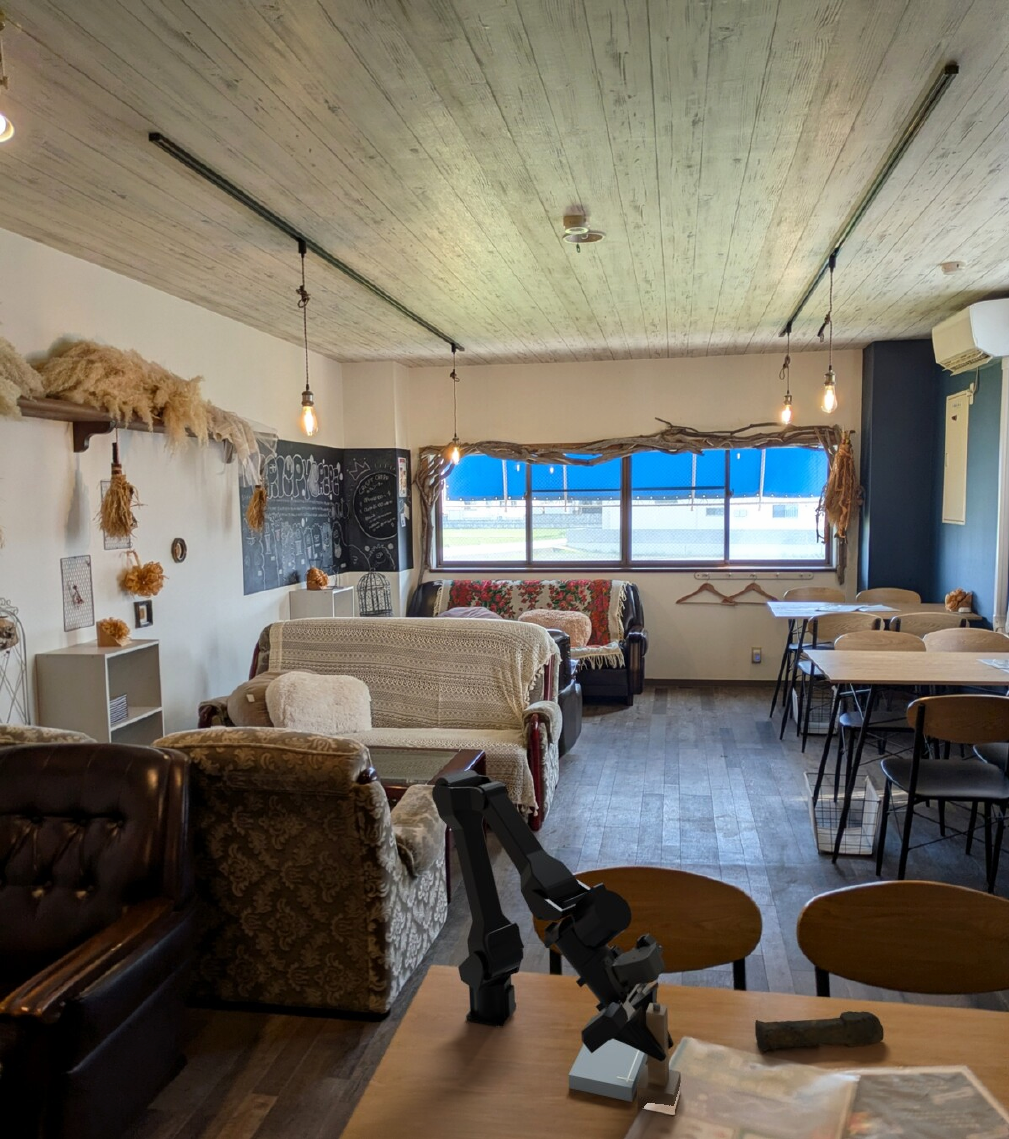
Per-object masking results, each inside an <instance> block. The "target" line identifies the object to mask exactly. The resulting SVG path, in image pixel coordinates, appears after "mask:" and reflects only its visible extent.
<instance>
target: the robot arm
mask: <svg viewBox="0 0 1009 1139" xmlns="http://www.w3.org/2000/svg"><path fill="white" fill-rule="evenodd" d="M431 796H432V800H433V802H434V804H435V808H436V810H437V813H438V816H439V818H440V819H441V820H442V822H444V824H445V825H446V826H448V827H449V829H450V830H451V832H452V835H453V840H454V844H455V848H456V852H457V857H458V861H459V862H458V863H459V865H460V869H461V875H462V879H463V884H464V887H465V888H464V889H465V894H466V896H467V902H468V906H469V911H470V915H471V919H472V920H471V921H472V922H471V925H470V929H469V933H468V936H467V939H466V940H467V949H468V956H467V957H466V959H465V960H463V961H462V963H460V965H459V966H458V973H459V977H460V981H461V982H463V983H464V984H466V985H467V986H468V992H469V1011H468V1013H466V1016H465V1020H466V1019H467V1020H466V1021H468V1020H469V1021H470V1022H474V1023H479V1024H483V1025H491V1026H495V1027H499V1028H500V1027H501V1028H502V1027H504V1025H505V1024H506V1022H507V1021H508V1020H509V1018H511V1016H512V1014H513V1013H514V1011H515V1009H516V1008H517V1002H516V995H515V985H514V984H512V975H515V974H518V973H519V972H520V968H521V963H522V960H523V959H524V948H525V945H524V942H523V941H522V938H521V931H520V926H519V924H518V923H517V922H511V920H510V919H509V918H508V917H507V916H506V915H505V914H504V913H503V909H502V906H501V900H500V898H499V897H500V896H499V892H498V888H497V884H496V880H495V875H494V872H493V866H492V861H491V858H490V852H489V849H488V845H487V841H486V836H485V832H484V828H483V820H484V819H485V821H486V823H487V824H488V826H489V827H490V829H491V831H492V832H493V834H494V835H495V837H496V838H497V840H498V842H499V843H500V845H501V846H502V848H503V850H504V851H505V852H506V854H507V856H508V857H509V859H510V860H511V862H512V863H513V865H514V867H515V868H516V870H517V872H518V874H519V876H520V880H519V881H520V883H519V884H520V892H521V894H522V897H523V898H524V900H525V903H526V905H527V907H528V910H529V911H530V912H531V914H532V916H533V917H535V918H536V919H537V920H538V921H540V920H541V921H543V922H550V921H551V922H550V923H549V924H548V925H547V926H545V928H544V942H543V943H544V947H545V948H546V949H549V948H550V947H552V946H553V945H555V947H556V948H557V949H558V951H559V952H560V953H561V954H562V956H563V957H564V959H565V960H566V961H567V962H568V963H569V965H570V966H571V967H572V968H573V970H574V971H575V973H577V975H578V976H579V978H577V980H575V982H576V984H577V985H578V987H579V988H582V987H583V986H585V985H586V986H587V988H588V989H589V990H590V992H591V993H592V994H593V996H595V998H596V999H597V1000H598V1001H599V1002H598V1003H596V1005H595V1008H596V1009H597V1011H598V1013H597V1014H595V1015H594V1016H593V1017H591V1018H590V1020H589V1021H588V1022H587V1023H586V1025H585V1027H584V1028H583V1029H582V1030H581V1043H583V1044H584V1045H585V1046H586V1047H587V1049H588V1050H589V1051H590V1052H591V1053H593V1052H594V1051H596V1050H597V1049H598V1048H600V1047H601V1046H602V1045H603V1044H605V1043H606V1042H607V1041H610V1040H611V1039H615V1040H617V1041H619V1042H622V1043H624V1044H627V1045H629V1046H631V1047H633V1048H635V1049H637V1050H639V1051H641V1052H643V1053H645V1054H647V1055H649V1056H651V1057H653V1058H655V1059H657V1060H659V1061H663V1060H665V1059H666V1057H667V1056H666V1054H665V1052H664V1051H663V1049H662V1047H661V1046H660V1044H659V1043H658V1042H657V1040H656V1039H655V1037H654V1036H653V1034H652V1033H651V1032H650V1030H649V1029H648V1027H647V1026H646V1011H647V1009H648V1006H649V1004H650V1003H658V1000H657V999H658V989H659V986H660V984H659V982H656V983H654V982H655V981H657V980H658V978H660V975H661V974H662V973H663V971H664V970H665V969H666V967H667V964H666V962H665V961H664V960H663V958H662V954H663V952H664V947H663V946H661V945H660V944H659V943H658V941H657V940H656V939H655V938H654V937H653V936H652V935H651V934H650V933H646V934H642V935H640V936H639V937H638V939H637V940H636V941H635V943H636V944H635V946H636V947H632V948H631V949H630V950H628V951H626V952H624V950H622V948H621V947H620V946H618V945H616V944H613V945H612V947H610V946H609V945H608V944H609V943H610V942H612V941H613V940H614V939H615V938H616V937H619V935H620V934H621V933H623V932H624V931H626V930H627V929H628V928H629V927H630V925H631V922H632V917H633V916H632V910H631V907H630V905H629V903H628V901H627V900H626V899H624V898H623V897H622V896H621V895H620V894H619V893H618V892H615V891H613V890H610V889H609V890H608V889H607V887H606V885H605V884H604V883H603V882H600V883H599V884H596V885H593V886H592V887H590V886H588V885H586V884H585V883H583V882H581V881H580V880H578V879H577V877H576V876H575V875H574V874H573V872H571V870H570V869H569V868H568V867H567V866H566V865H565V863H564V862H562V861H561V860H559V859H557V858H555V857H553V856H551V855H550V854H549V853H547V851H546V849H544V847H543V846H542V845H541V843H540V841H539V840H538V839H537V837H536V835H535V834H534V831H532V829H531V828H530V826H529V824H528V823H527V821H526V820H525V819H524V817H523V815H522V814H521V813H520V811H519V810H518V808H517V806H516V805H515V803H514V802H513V800H512V799H511V797H510V796H509V791H508V788H507V786H506V784H505V783H503V782H502V781H498V780H494V779H493V778H492V776H489V775H488V776H487V775H482V774H478V773H477V772H476V771H475V770H473V769H466V770H463V771H459V772H455V773H452V774H447V775H444V776H441V777H439V778H437V779H436V781H435V784H434V786H433V787H432V791H431ZM560 920H561V921H560ZM558 921H560V922H558ZM652 983H654V984H653V985H652V986H651V985H650V984H652ZM674 1044H675V1042H674V1041H673V1038H672V1036H671V1034H670V1031H669V1030H668V1049H669V1050H670V1049H671V1048H673V1047H674Z"/></svg>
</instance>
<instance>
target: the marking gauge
mask: <svg viewBox="0 0 1009 1139" xmlns="http://www.w3.org/2000/svg"><path fill="white" fill-rule="evenodd" d="M668 1016H669V1014H668V1005H664V1004H660V1003H659V1002H657V1003H650V1004H649V1006H648V1009H647V1011H646V1026H647V1027H648V1029H649V1030H650V1032H651V1033H652V1034H653V1036H654V1037H655V1039H656V1040H657V1042H658V1043H659V1044H660V1046H661V1047H662V1049H663V1051H664V1052H665V1054H666V1056H667V1057H666V1059H665V1060H663V1061H659V1060H657V1059H655V1058H653V1057H651V1056H649V1055H647V1064H646V1065H644V1068H643V1071H642V1074H641V1076H640V1079H639V1082H638V1085H637V1089H636V1107H637V1109H640V1110H643V1109H642V1108H644V1106H645V1105H646V1104H647V1103H655V1104H664V1105H669V1106H670V1105H671V1106H674V1104H675V1101H676V1097H677V1094H678V1091H679V1087H680V1083H681V1084H682V1080H681V1078H682V1077H681V1071H678V1070H673V1069H670V1059H669V1058H670V1057H669V1050H670V1049H668V1031H669V1024H668V1022H669V1021H668V1020H669V1019H668Z"/></svg>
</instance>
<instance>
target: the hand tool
mask: <svg viewBox="0 0 1009 1139" xmlns="http://www.w3.org/2000/svg"><path fill="white" fill-rule="evenodd" d="M754 1030H755V1032H754V1033H755V1034H754V1035H755V1039H756V1043H757V1045H758V1048H759V1049H760V1051H761V1052H763V1053H764V1052H765V1051H766V1050H770V1051H772V1052H775V1051H776V1049H781V1048H792V1047H793V1048H794V1047H796V1048H797V1047H811V1046H825V1045H844V1046H845V1047H847V1048H850V1049H852V1048H853V1049H854V1048H861V1047H865V1046H870V1045H873V1044H876V1043H879V1042H881V1041H883V1040H884V1036H885V1035H884V1033H885V1032H884V1027H883V1025H882V1022H881V1021H880V1019H879V1017H878V1016H876V1015H875V1014H874V1013H872V1012H870V1011H865V1010H864V1011H851V1010H849V1011H844V1012H841V1013H840V1016H839V1017H834V1018H822V1019H804V1020H786V1021H783V1020H782V1021H776V1020H775V1021H762V1020H758V1019H756V1020H755V1023H754Z"/></svg>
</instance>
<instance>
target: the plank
mask: <svg viewBox="0 0 1009 1139" xmlns="http://www.w3.org/2000/svg"><path fill="white" fill-rule="evenodd" d="M647 1063H648V1059H647V1054H645V1053H643V1052H641V1051H639V1050H637V1049H635V1048H633V1047H631V1046H629V1045H627V1044H624V1043H622V1042H619V1041H617V1040H615V1039H611V1040H610V1041H607V1042H606V1043H605V1044H603V1045H602V1046H601V1047H600V1048H598V1049H597V1050H596V1051H594V1052H593V1053H591V1052H590V1051H589V1050H588V1049H587V1047H586V1046H585V1045H584V1043H583V1045H582V1047H581V1048H580V1050H579V1052H578V1054H577V1057H576V1059H575V1061H574V1063H573V1065H572V1067H571V1069H570V1071H569V1073H568V1089H571V1090H576V1091H582V1092H585V1093H589V1094H590V1093H591V1094H594V1095H595V1094H596V1095H600V1096H604V1097H609V1098H613V1099H617V1100H621V1101H622V1100H623V1101H626V1102H632V1103H633V1100H634V1098H635V1094H636V1093H637V1085H638V1082H639V1079H640V1076H641V1074H642V1071H643V1068H644V1065H647Z"/></svg>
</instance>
